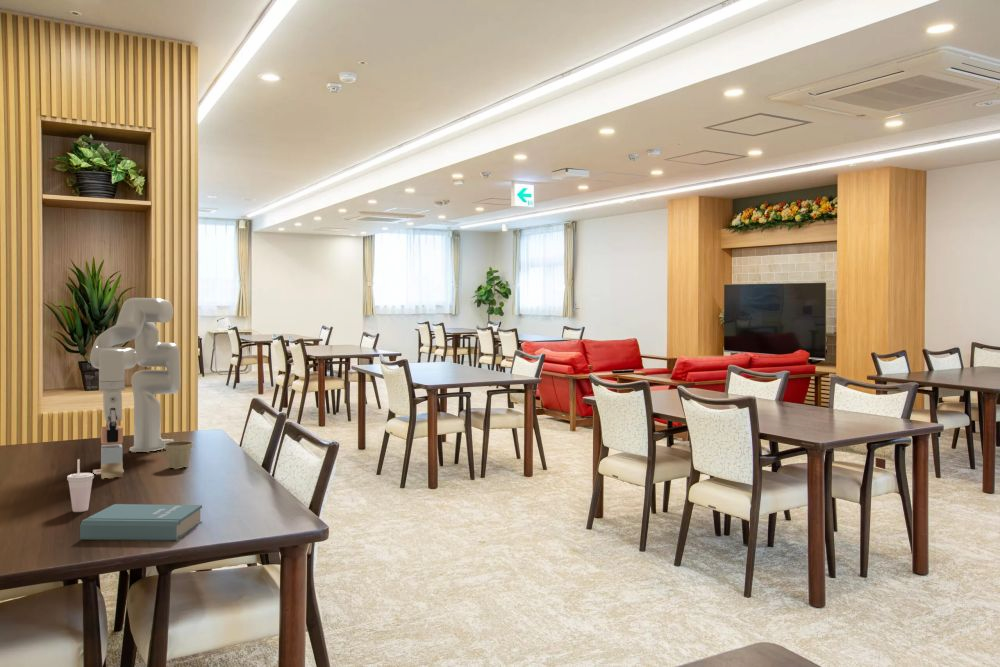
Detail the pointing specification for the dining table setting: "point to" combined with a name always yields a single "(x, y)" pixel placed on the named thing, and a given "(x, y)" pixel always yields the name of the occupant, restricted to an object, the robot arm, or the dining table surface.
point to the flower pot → (178, 453)
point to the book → (141, 522)
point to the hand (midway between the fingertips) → (111, 439)
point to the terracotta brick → (104, 435)
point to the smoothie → (80, 489)
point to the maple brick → (112, 470)
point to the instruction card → (98, 471)
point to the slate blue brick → (111, 453)
